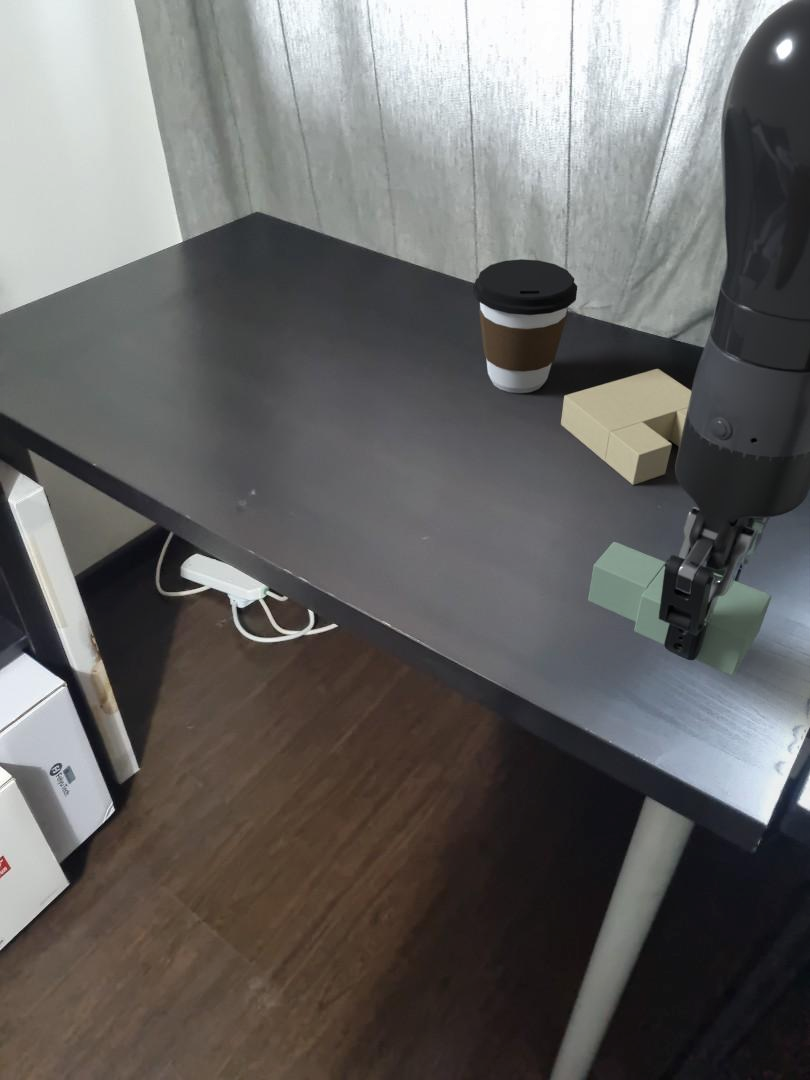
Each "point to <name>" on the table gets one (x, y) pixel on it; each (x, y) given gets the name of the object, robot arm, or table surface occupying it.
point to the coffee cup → (522, 320)
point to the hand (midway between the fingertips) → (697, 626)
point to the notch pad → (630, 422)
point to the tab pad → (636, 594)
